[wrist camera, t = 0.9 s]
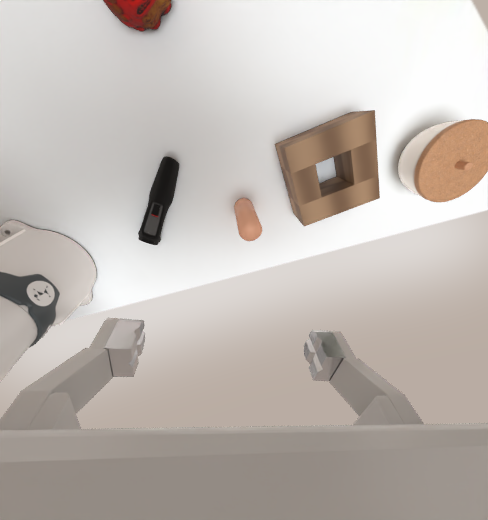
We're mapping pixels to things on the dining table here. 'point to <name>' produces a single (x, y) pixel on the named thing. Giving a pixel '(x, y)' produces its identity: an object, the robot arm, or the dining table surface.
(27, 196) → the dining table surface
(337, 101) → the dining table surface
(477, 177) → the lidded jar
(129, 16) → the red clay folk toy
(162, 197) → the electric trimmer
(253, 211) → the peg
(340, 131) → the socket block
